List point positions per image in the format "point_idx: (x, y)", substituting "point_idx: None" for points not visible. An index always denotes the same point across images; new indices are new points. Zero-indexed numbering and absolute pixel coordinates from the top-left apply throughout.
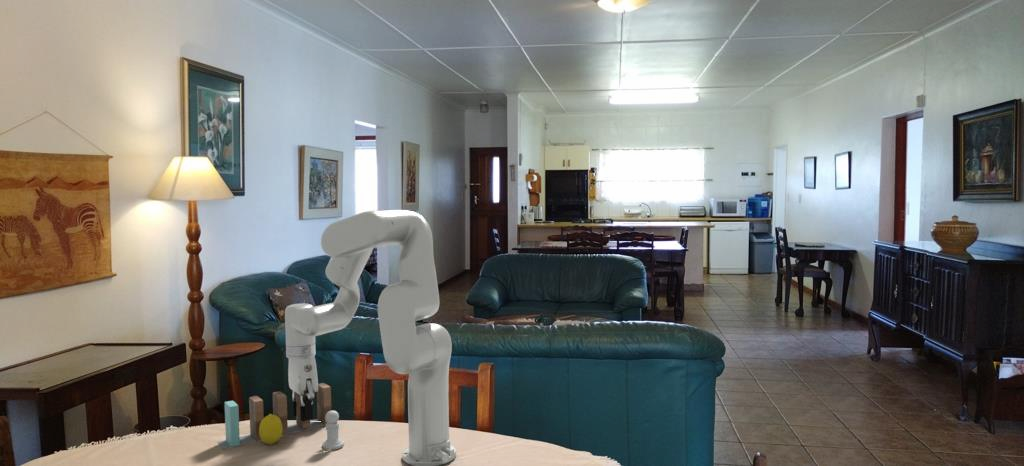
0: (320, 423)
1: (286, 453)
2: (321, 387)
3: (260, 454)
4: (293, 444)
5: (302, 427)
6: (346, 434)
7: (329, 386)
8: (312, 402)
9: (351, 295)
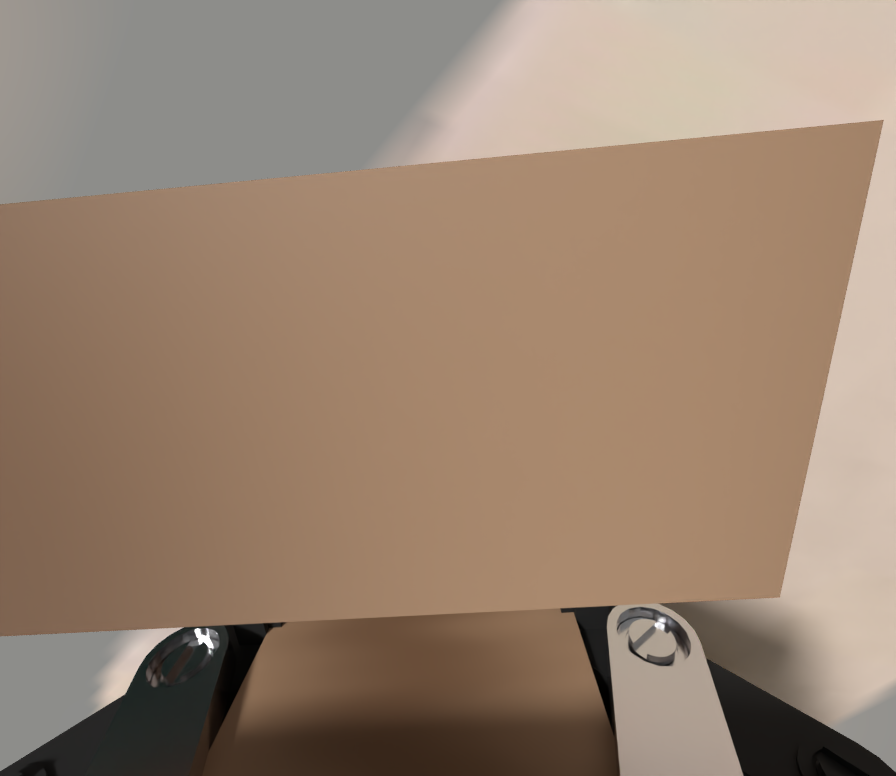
0: None
1: (845, 664)
2: (462, 594)
3: None
4: (734, 602)
5: None
6: (887, 204)
7: (704, 178)
8: (701, 648)
9: None
